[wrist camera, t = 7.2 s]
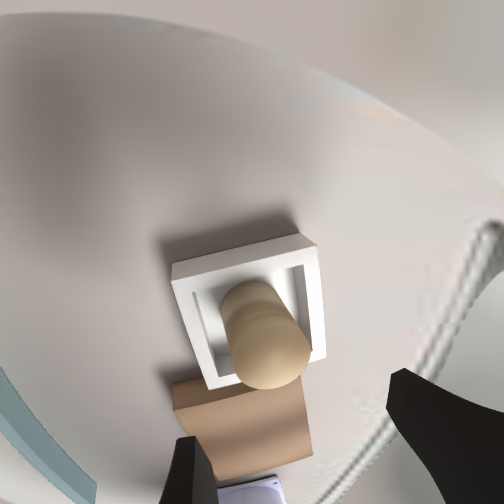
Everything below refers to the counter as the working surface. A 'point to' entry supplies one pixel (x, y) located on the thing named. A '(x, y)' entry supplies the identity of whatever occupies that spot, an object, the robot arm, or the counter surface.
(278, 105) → the counter surface
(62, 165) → the counter surface
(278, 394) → the walnut slab
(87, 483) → the rail
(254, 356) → the rounded wooden peg
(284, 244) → the cradle
